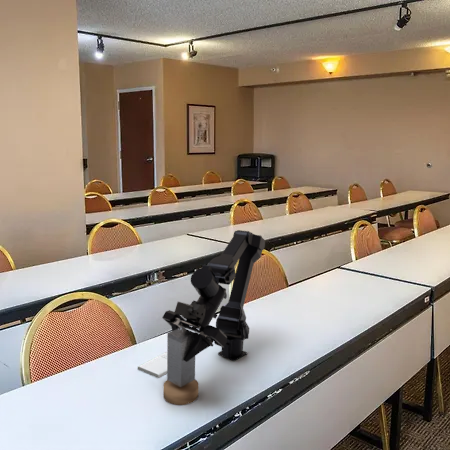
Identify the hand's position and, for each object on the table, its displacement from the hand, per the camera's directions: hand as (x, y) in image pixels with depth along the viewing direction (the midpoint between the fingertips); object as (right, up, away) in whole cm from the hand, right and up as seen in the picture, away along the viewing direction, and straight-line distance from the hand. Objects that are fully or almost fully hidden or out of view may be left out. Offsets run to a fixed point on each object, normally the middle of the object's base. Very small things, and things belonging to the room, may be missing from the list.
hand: (177, 357), depth 128 cm
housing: (+1, -6, +3) cm, 7 cm away
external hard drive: (-6, -8, +19) cm, 22 cm away
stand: (+1, -11, +3) cm, 11 cm away
